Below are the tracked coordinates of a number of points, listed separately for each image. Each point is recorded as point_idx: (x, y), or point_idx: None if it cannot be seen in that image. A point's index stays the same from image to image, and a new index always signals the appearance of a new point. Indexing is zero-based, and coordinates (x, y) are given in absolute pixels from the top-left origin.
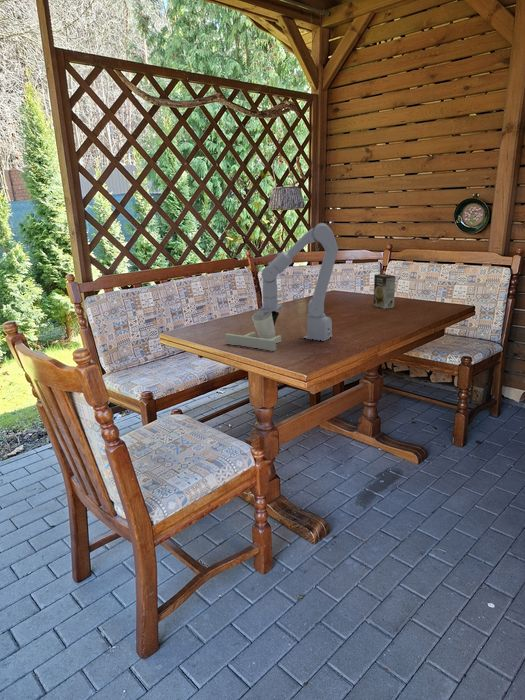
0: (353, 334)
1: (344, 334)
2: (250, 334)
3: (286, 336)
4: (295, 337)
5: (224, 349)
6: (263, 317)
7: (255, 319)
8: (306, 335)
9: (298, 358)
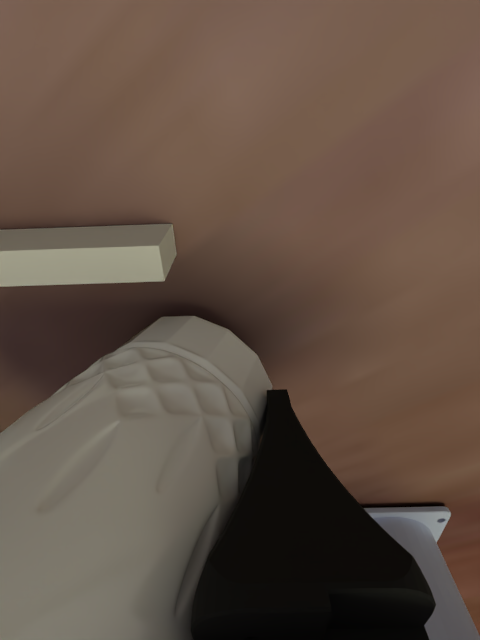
0: (476, 599)
1: (471, 583)
2: (62, 283)
3: (347, 423)
4: (342, 470)
5: None
6: (175, 546)
7: (18, 487)
8: (376, 514)
9: None
